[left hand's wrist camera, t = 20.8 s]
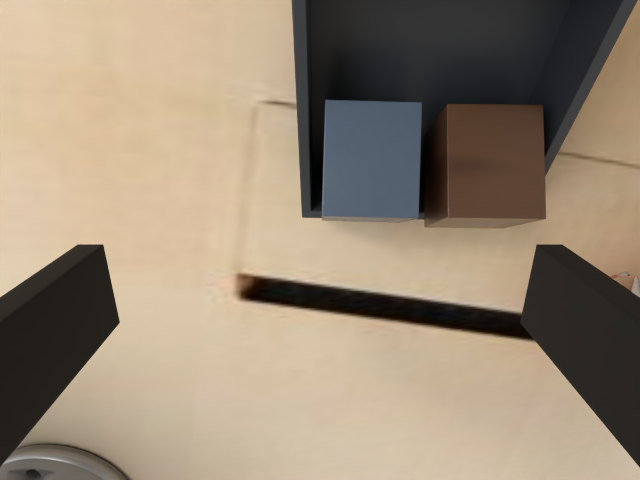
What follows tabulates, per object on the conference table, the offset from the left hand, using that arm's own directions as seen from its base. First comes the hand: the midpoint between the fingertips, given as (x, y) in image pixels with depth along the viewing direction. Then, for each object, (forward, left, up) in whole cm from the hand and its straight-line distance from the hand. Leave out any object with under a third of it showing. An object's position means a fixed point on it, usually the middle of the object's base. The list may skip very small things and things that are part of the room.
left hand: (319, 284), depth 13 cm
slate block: (+4, +1, -13) cm, 14 cm away
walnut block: (+9, -4, -14) cm, 17 cm away
